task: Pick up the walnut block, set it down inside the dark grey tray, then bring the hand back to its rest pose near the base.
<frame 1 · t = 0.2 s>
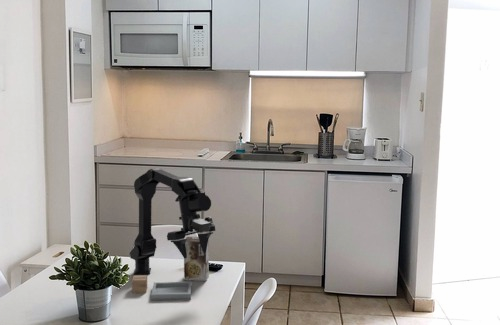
hand: (195, 255, 205), 15 cm above the table, tool pointing down, fingers open, 9 cm apart
walnut block: (140, 290, 212), on the table
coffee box: (196, 278, 225), on the table
grey tray: (171, 293, 209), on the table
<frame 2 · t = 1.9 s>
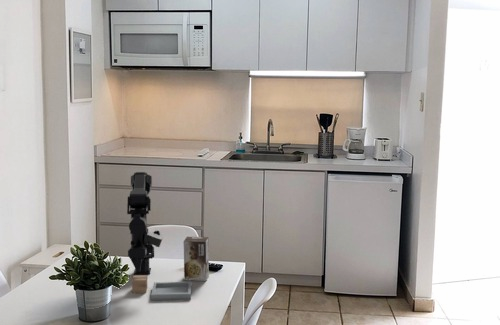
hand: (139, 267, 210), 9 cm above the table, tool pointing down, fingers open, 9 cm apart
nothing on the table moved.
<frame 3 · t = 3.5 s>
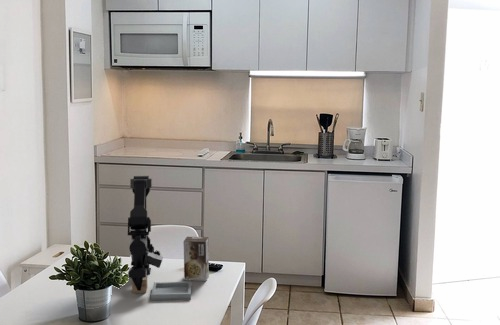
hand: (140, 287, 211), 1 cm above the table, tool pointing down, fingers closed on walnut block, 5 cm apart
walnut block: (140, 290, 212), on the table, touching gripper
everything else where it was.
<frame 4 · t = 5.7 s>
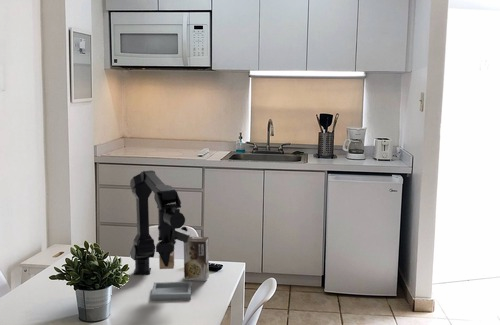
hand: (167, 263, 207), 11 cm above the table, tool pointing down, fingers closed on walnut block, 5 cm apart
walnut block: (167, 266, 207), point 10 cm above the table, touching gripper
everything else where it was.
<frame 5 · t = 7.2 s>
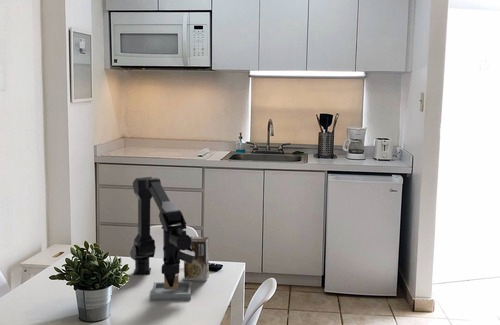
hand: (171, 284, 208), 4 cm above the table, tool pointing down, fingers closed on walnut block, 5 cm apart
walnut block: (171, 286, 208), point 3 cm above the table, touching gripper
everything else where it was.
when the fingers open (3 cm above the table, at t = 8.1 s): walnut block drops 1 cm, resting on grey tray.
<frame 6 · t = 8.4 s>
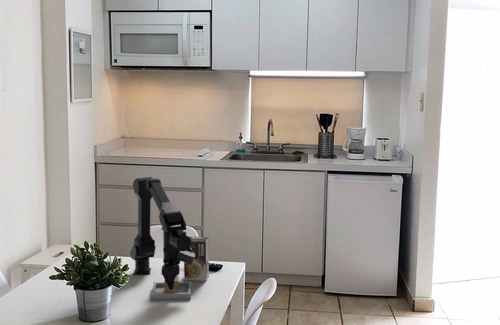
hand: (171, 285, 208), 3 cm above the table, tool pointing down, fingers open, 8 cm apart
walnut block: (171, 291, 209), point 1 cm above the table, touching grey tray
everything else where it was.
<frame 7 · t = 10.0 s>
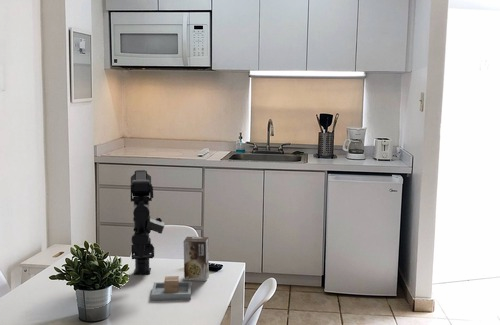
hand: (142, 253, 215), 13 cm above the table, tool pointing down, fingers open, 9 cm apart
nothing on the table moved.
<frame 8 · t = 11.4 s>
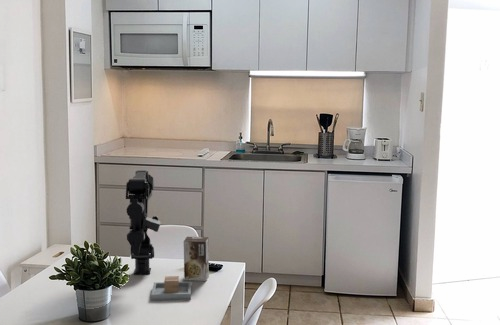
hand: (138, 251, 215), 13 cm above the table, tool pointing down, fingers open, 9 cm apart
nothing on the table moved.
at the end: walnut block inside the target area on the grey tray (0.1 cm from its centre), point 0.8 cm above the grey tray's base; walnut block tilted 0°; the gripper is holding nothing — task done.
